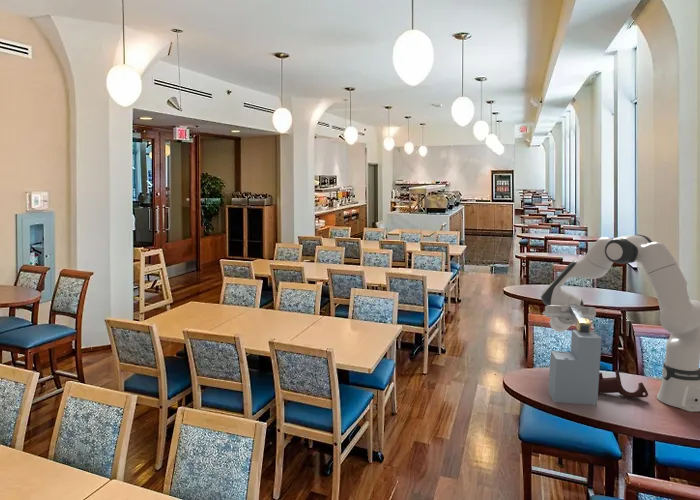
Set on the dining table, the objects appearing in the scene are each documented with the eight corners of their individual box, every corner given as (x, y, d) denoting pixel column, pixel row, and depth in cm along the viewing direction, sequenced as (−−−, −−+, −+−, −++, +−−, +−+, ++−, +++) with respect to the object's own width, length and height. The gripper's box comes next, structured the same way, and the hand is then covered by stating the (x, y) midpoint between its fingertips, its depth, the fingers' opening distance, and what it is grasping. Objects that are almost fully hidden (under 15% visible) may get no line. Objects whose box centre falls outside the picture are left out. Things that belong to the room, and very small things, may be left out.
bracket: (649, 397, 194) (643, 368, 197) (597, 399, 201) (592, 372, 204) (647, 397, 200) (641, 369, 203) (597, 399, 206) (592, 372, 210)
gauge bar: (577, 310, 216) (578, 302, 215) (589, 332, 198) (591, 323, 196) (567, 310, 217) (568, 301, 216) (578, 332, 198) (580, 322, 197)
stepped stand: (589, 394, 203) (593, 330, 200) (597, 404, 194) (601, 338, 190) (548, 391, 206) (552, 328, 203) (554, 401, 196) (557, 336, 193)
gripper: (541, 307, 229) (547, 298, 217) (589, 309, 226) (599, 300, 213) (541, 321, 227) (548, 312, 214) (590, 323, 224) (600, 315, 211)
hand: (574, 306), depth 214 cm, fingers closed on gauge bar, 3 cm apart
